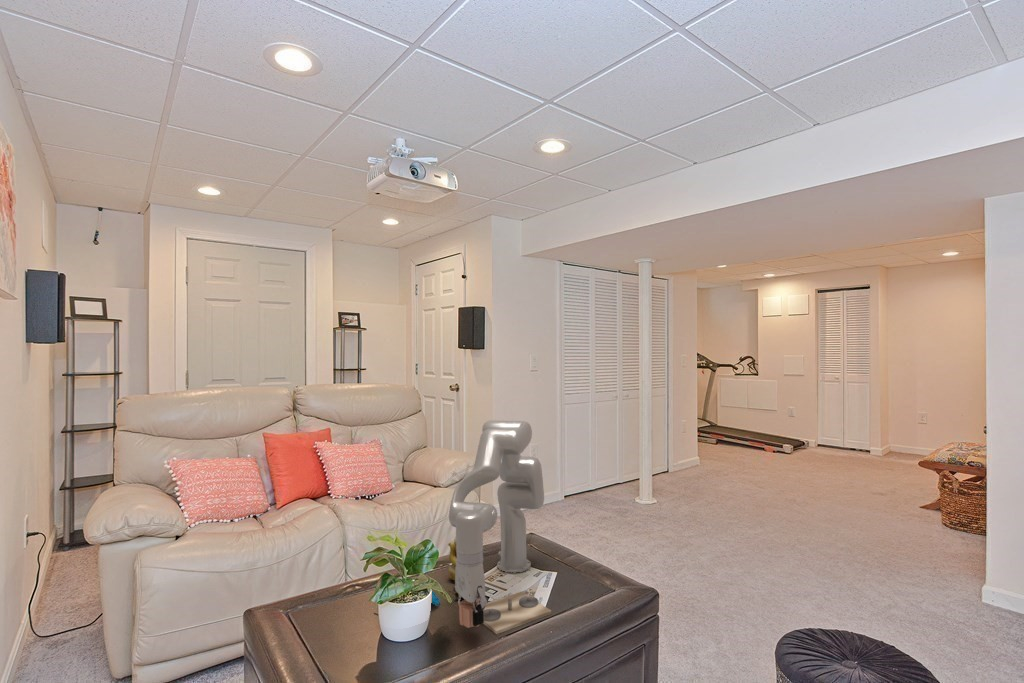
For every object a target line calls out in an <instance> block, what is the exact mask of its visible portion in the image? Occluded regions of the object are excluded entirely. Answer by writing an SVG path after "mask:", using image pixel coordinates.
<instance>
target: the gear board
mask: <svg viewBox="0 0 1024 683" xmlns="http://www.w3.org/2000/svg"><path fill="white" fill-rule="evenodd" d="M550 615H552V610H551V609H550V608H548V607H546V606H545V605H544V604H542V603H541V602H539V600H538V598H536V597H535V596H530V595H529V594H527V593H526V592H524V591H522V590H521V591H518V592H515V593H513V594H509V595H505V596H503V597H500V598H496V599H495V600H490V601H487V604H486V606H485V608H484V623H483V625H484V626H485V627H487V628H488V629H489V630H490V631H492V632H493V633H494V634H495V635H499V634H501V633H505V632H507V631H510V630H512V629H515V628H518V627H520V626H523V625H525V624H528V623H532V622H534V621H536V620H540V619H541V618H545V617H547V616H550Z"/></svg>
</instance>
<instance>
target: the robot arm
mask: <svg viewBox="0 0 1024 683" xmlns="http://www.w3.org/2000/svg"><path fill="white" fill-rule="evenodd" d="M481 431H482V432H481V435H480V438H479V442H478V445H477V450H476V451H477V452H476V456H475V460H474V463H473V468H472V470H471V471H470V472H468V473H467V474H466V475H465V476H464V477H463V478H462V479H461V480H460V481H459V483H458V484H457V485H456V486H455V489H454V491H453V493H452V498H451V500H450V506H449V511H448V520H449V521H448V522H449V524H450V526H452V527H454V528H455V534H456V535H455V538H456V550H457V561H456V570H455V580H454V587H455V590H456V592H457V593H458V596H459V599H461V600H460V602H462V600H464V599H465V600H466V601H468V602H469V603H472V604H473V609H474V611H473V626H474V627H476V626H477V625H479V626H480V625H482V624H483V623H484V608H485V606H486V604H487V603H488V600H487V598H486V582H485V581H486V580H485V571H484V570H485V569H484V564H483V562H484V542H483V541H484V538H483V537H484V536H483V534H484V533H485V532H488V531H489V530H491V529H492V528H493V527H494V526H495V524H496V523H497V521H498V510H497V508H496V507H495V505H494V504H491V503H487V502H486V503H485V502H471V501H470V502H469V501H465V499H466V498H467V496H468V495H469V494H470V493H471V492H473V491H474V490H475V489H477V488H479V487H482V486H484V485H486V484H489V483H491V482H494V481H496V480H497V479H498V478H500V479H501V481H503V482H502V483H500V484H499V486H498V487H497V491H496V492H497V493H496V494H497V501H498V506H499V515H500V517H499V519H500V520H499V521H500V522H499V523H500V550H499V551H498V553H497V554H498V555H499V556H500V560H498V562H497V563H496V567H497V569H498V568H499V569H500V570H499V569H498V570H499V571H501V570H502V571H501V572H503V571H505V572H504V573H507V572H511V573H510V574H517V573H516V572H520V573H523V572H522V571H524V572H525V570H526V571H528V570H530V568H531V567H532V566H531V565H532V564H531V561H530V560H529V559H528V558H527V531H526V530H527V529H526V528H527V525H526V524H527V521H526V520H527V519H526V516H525V514H524V513H523V511H522V510H521V509H527V510H538V509H540V508H542V507H543V505H544V502H545V489H544V480H543V479H544V478H543V469H542V464H541V462H540V460H539V458H537V457H536V456H535V457H534V456H522V455H521V454H522V453H523V452H524V451H525V449H526V448H527V447H528V446H529V445H530V444H531V440H532V437H533V430H532V426H531V424H530V423H529V422H528V421H525V420H496V419H495V420H493V419H492V420H488V421H485V422H484V423H483V425H482V430H481ZM527 569H528V570H527ZM512 572H513V573H512ZM477 597H478V599H476V598H477ZM477 601H479V602H480V604H478V606H476V602H477ZM483 625H484V624H483ZM477 627H478V626H477Z"/></svg>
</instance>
